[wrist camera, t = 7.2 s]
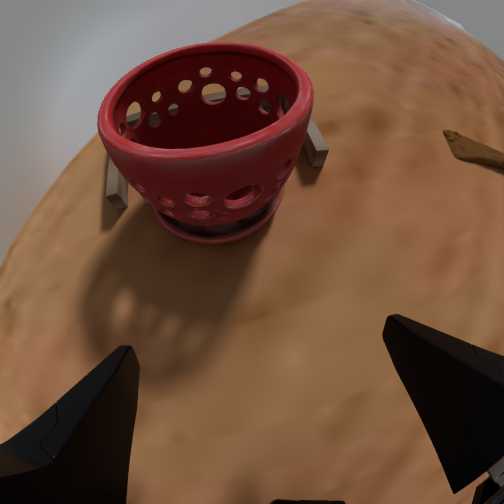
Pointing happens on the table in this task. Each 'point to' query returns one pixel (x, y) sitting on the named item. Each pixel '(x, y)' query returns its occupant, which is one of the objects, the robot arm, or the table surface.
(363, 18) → the table surface
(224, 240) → the plant pot
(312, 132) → the walnut corral
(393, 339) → the robot arm
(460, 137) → the primitive tool
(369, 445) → the table surface
